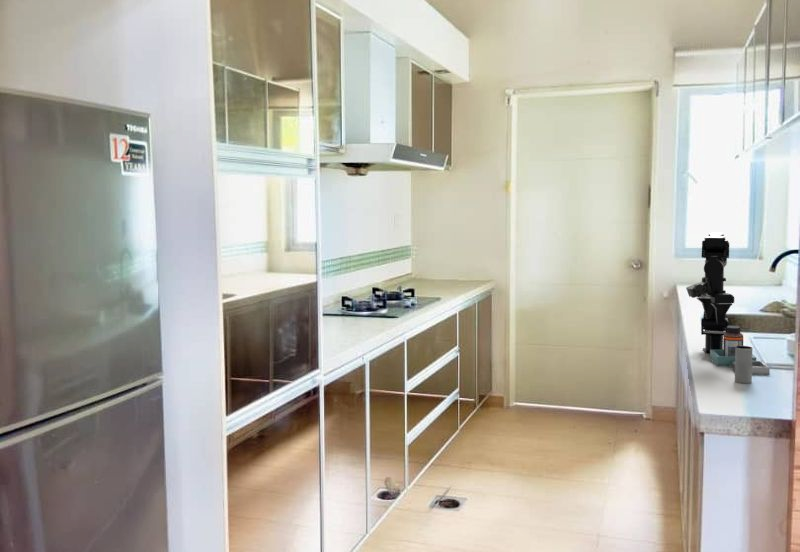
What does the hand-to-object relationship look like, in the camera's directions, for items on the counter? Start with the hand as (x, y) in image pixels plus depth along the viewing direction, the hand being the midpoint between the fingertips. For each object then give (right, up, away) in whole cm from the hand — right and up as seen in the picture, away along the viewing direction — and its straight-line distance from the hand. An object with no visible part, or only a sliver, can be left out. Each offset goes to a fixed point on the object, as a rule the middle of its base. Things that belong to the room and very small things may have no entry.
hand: (713, 321), depth 246 cm
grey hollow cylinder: (-3, -16, -27) cm, 32 cm away
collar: (+5, -14, -14) cm, 21 cm away
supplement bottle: (+5, -13, -3) cm, 14 cm away
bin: (+5, -13, -3) cm, 14 cm away
